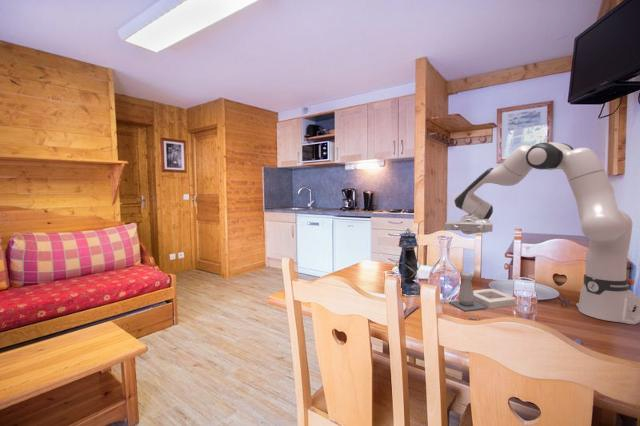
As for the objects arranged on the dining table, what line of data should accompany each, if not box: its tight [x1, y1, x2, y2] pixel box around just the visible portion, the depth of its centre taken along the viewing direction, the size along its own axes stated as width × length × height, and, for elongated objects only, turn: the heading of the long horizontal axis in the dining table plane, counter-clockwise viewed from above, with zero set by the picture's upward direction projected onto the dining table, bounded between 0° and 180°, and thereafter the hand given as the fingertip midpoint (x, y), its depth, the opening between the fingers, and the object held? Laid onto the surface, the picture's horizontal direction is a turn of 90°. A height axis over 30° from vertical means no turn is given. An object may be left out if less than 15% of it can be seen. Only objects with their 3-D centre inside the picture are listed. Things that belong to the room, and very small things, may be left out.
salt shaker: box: [458, 272, 475, 306], centre depth 126 cm, size 6×6×13 cm
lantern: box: [395, 228, 421, 296], centre depth 145 cm, size 15×12×30 cm
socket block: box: [473, 288, 516, 309], centre depth 132 cm, size 14×14×2 cm
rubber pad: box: [448, 299, 487, 313], centre depth 127 cm, size 10×10×1 cm
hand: (467, 228), depth 140 cm, fingers open, 8 cm apart
